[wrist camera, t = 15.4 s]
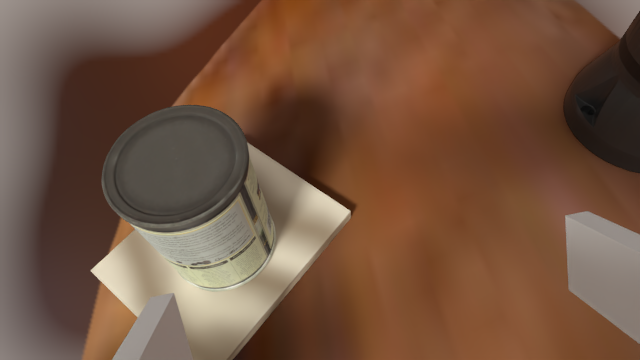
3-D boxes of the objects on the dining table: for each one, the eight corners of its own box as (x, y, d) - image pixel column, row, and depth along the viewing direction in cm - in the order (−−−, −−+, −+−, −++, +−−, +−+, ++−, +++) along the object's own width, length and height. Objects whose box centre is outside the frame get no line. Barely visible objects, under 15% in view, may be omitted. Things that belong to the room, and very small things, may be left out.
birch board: (239, 142, 51) (236, 135, 50) (350, 217, 45) (350, 211, 44) (98, 276, 43) (90, 270, 42) (210, 386, 37) (205, 384, 36)
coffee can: (152, 235, 44) (77, 153, 32) (239, 177, 47) (201, 83, 35) (205, 316, 39) (140, 257, 27) (297, 247, 42) (276, 166, 30)
